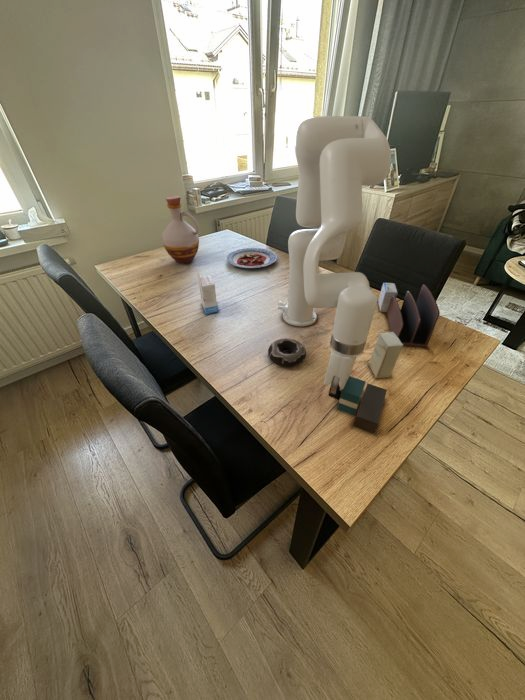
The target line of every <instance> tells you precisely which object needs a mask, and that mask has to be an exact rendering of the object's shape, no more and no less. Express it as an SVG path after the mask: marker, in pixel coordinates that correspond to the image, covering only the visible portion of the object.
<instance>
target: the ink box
mask: <svg viewBox="0 0 525 700" xmlns="http://www.w3.org/2000/svg"><path fill="white" fill-rule="evenodd" d="M196 273H197V280H198V287H199V288H198V289H199V293H200V300H201V301H200V302H201V305H202V308H203V310H204V313H205V315H209V314H214V313H218V312H219V311H218V303H217V302H218V301H217V291H216V284H215V282H214V280H213V277H211V275H206V276H201V274H200V273H199V271H198V270H196Z"/></svg>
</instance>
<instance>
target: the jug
mask: <svg viewBox="0 0 525 700" xmlns="http://www.w3.org/2000/svg"><path fill="white" fill-rule="evenodd" d="M181 199H182V198H181V195H172V196H168V197H167V196H166V198H165V201H166V203H167V204H166V206H167V208H168V210H169V213H170V216H171V220H170V222H169V223H168V225H167V226H166V227H165V229H164V231H163V232H162V235H161V241H162V245H163V247H164V250H165V251H166V252H167V254H168V256H170V257H171V258H172V259H173V260H174V261H175V262H177V263H178V264H189V263H191V262H192V261H193V260H194V258H195V257H196V255H197V253H198V251H199V246H200V237H199V233H200V226H199V222H198V221H197V220H196V218H195V217H194V216H193V215H192V214H190V213H189V212H186V211H183V212H182V206H183V205H182V203H181ZM185 216H186V217H188V218H189V219H190V220H191V221H192V222H193V224H194V225H195V228H194V227H193V226H191V225H190V224H189V223H188V222H187V221H185V220H184V218H183V217H185Z"/></svg>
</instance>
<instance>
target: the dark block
mask: <svg viewBox="0 0 525 700" xmlns="http://www.w3.org/2000/svg"><path fill="white" fill-rule="evenodd" d="M387 391H388V389H386V388H383V387H380V386H377V385H374V384H371V383H368V382H367V383H366V385H365V388H364V392H363V394H362V397H361V400H360V403H359V406H358V409H357V413H356V416H355V419H354V422H353V424H352V427H355V428H358V429H360V430H363V431H365V432H368V433H370V434H373V435H375V433H376V430H377V428H378V427H379V423H380V419H381V414H382V410H383V407H384V403H385V399H386V396H387Z"/></svg>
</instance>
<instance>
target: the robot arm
mask: <svg viewBox="0 0 525 700" xmlns="http://www.w3.org/2000/svg"><path fill="white" fill-rule="evenodd" d="M294 134H295V135H294V153H295V157H296V162H297V167H298V185H297V192H296V206H295V220H296V223H297V224H298V225H299V226H300V227H302V228H306V229H298V230H295V231H293V232H291V234H290V235H289V237H288V241H287V249H288V257H289V258H288V261H289V268H288V269H289V271H288V288H287V290H288V291H287V301H286V302H284V301H282V300H278V302H277V306H278V307H277V309H278V310H281V311H283V312H282V319H283V321H284V322H285V323H287V324H288V325H291V326H293V327H308V326H311V325H313V324H314V323H315V322H316V321H317V319H318V316H317V313H316V311H315V310H314V309H329V308H336V310H335V315H334V319H333V325H332V332H331V337H330V341H329V347H330V349H331V353H330V356H329V360H328V364H327V366H326V367H327V368H326V371H325V376H324V380H323V384H324V385H325V386H329V385H330V386H329V391H328V397H330V398H333V399H335V400H338V401H339V400H340V396H341V392H342V389H344V386H345V384H346V382H347V380H348V378H349V376H351V373H352V371H353V368H354V365H355V363H356V360H357V357H359V356H361V355H362V354H363V353H364V351H365V347H366V343H367V341H368V336H369V333H370V330H371V326H372V322H373V321H374V316H375V313H376V310H377V306H378V297H377V294H376V293H375V292H374V291H373V290H372V289H371V286H370V282H369V279H368V277H367V276H366V275H365V274H364V273H363V272H361V271H347V272H331V273H330V272H329V273H328V272H327V273H320V272H319V271H320V270H319V262H320V261H333V260H337V259H339V258H340V257H341V256H342V254H343V251H344V249H345V245H346V239H347V238H348V232H349V231H352V230H353V229H355V228H356V227H358V226H359V225H360V224H361V223H362V221H363V186H365V187H366V186H378V185H381V184H382V183H383V182H384V181H385V180H386V179H387V177H388V175H389V173H390V169H391V166H392V165H391V164H392V151H391V147H390V143H389V140H388V139H387V137H386V135H385V134H384V132H383V131H382V129H381V128H380V127H379V126H378V125H377V123H376V122H375V120H373V119H372V118H371V117H369V116H362V115H342V116H341V115H319V116H311V117H307V118H304V119H303V120H301V121H300V122H299V123H298V125H297V126H296V130H295V133H294Z"/></svg>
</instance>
